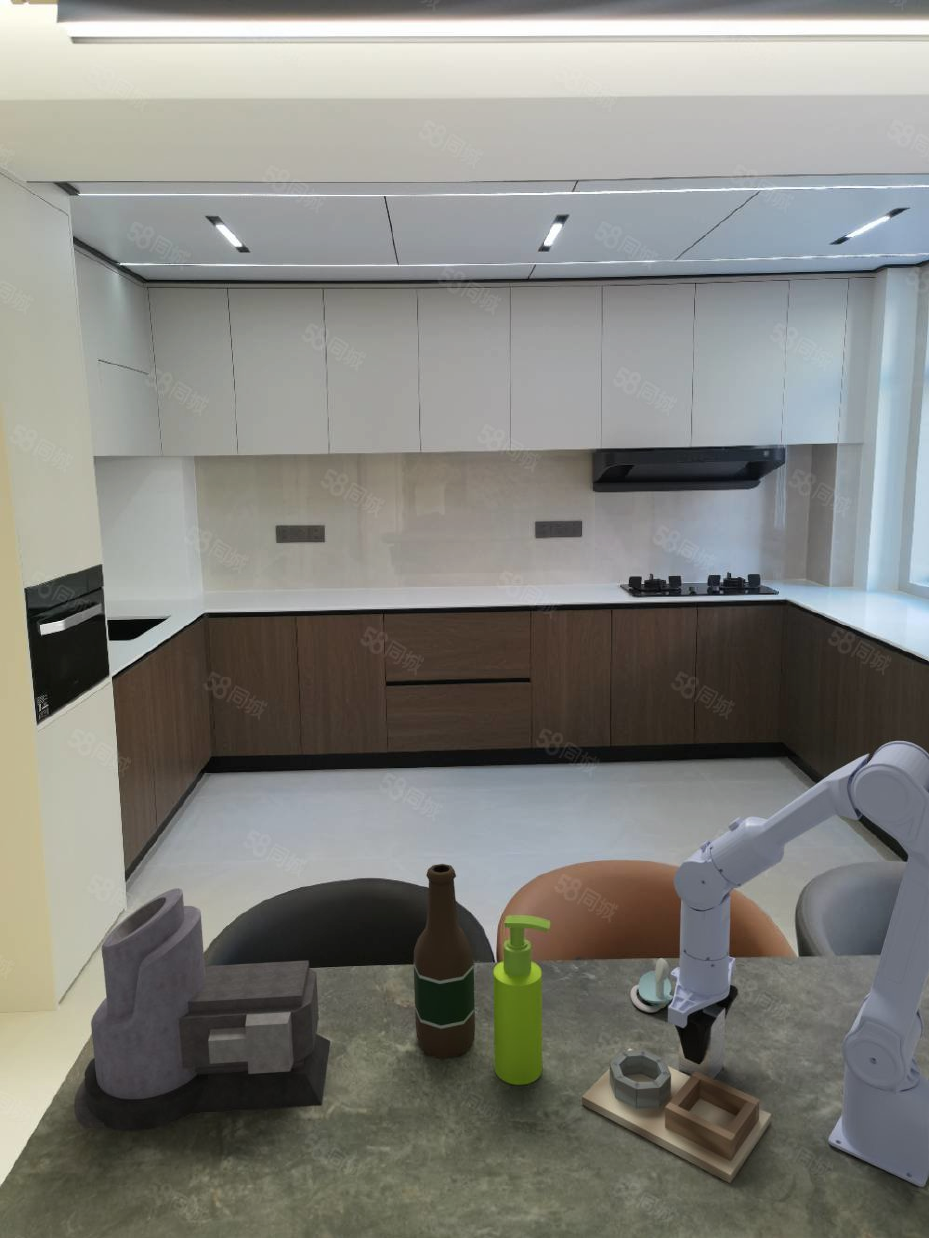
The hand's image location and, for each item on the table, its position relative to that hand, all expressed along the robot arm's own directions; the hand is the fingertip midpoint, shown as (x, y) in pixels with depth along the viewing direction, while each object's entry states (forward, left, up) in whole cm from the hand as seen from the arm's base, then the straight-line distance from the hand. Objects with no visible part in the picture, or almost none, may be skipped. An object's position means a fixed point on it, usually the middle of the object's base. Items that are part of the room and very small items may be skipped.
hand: (701, 1050), depth 105 cm
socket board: (-1, +9, -2) cm, 9 cm away
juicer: (+46, +40, -3) cm, 61 cm away
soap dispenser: (+17, +14, -3) cm, 22 cm away
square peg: (0, 0, -2) cm, 2 cm away
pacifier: (+11, -9, -3) cm, 15 cm away
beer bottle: (+28, +16, -3) cm, 32 cm away
